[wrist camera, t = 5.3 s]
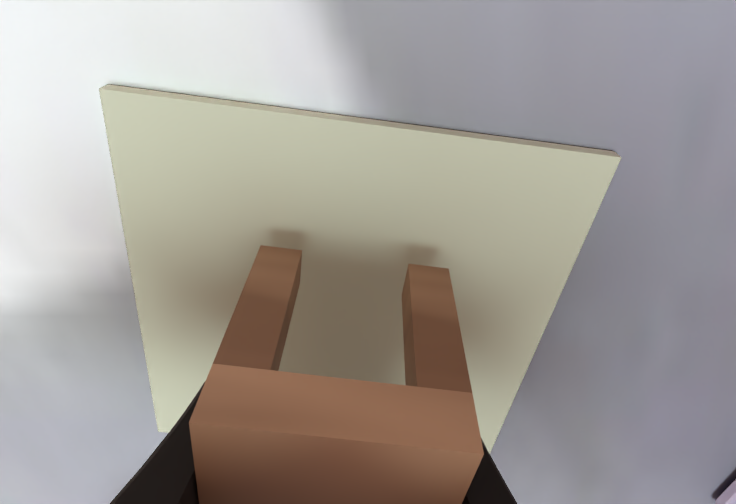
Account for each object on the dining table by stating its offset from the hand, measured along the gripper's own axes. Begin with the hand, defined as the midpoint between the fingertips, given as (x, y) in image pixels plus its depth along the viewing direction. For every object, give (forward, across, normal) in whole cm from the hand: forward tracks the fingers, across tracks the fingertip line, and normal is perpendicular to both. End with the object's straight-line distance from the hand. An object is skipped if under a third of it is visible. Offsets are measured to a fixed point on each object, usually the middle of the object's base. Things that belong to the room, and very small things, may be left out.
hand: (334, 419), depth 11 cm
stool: (+2, 0, 0) cm, 2 cm away
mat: (+4, 0, 0) cm, 4 cm away
